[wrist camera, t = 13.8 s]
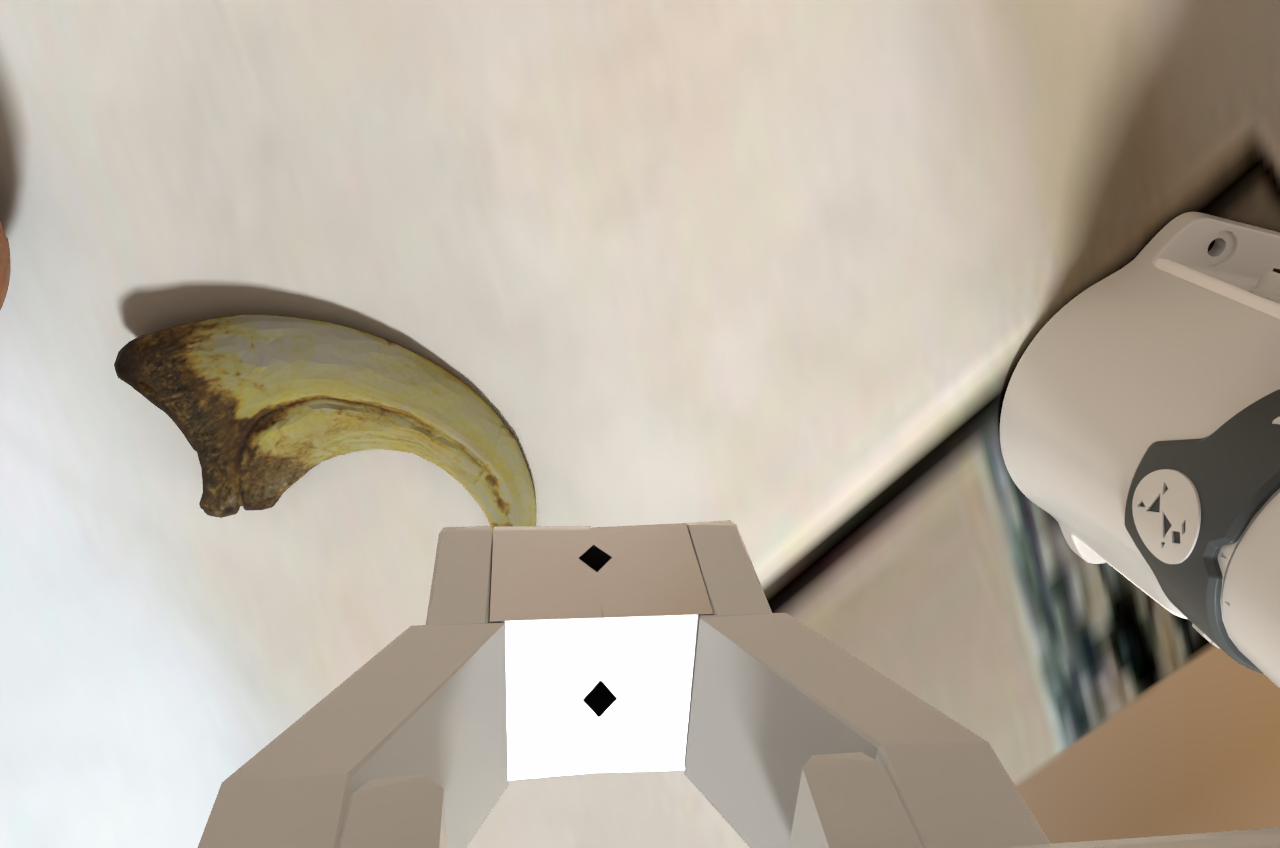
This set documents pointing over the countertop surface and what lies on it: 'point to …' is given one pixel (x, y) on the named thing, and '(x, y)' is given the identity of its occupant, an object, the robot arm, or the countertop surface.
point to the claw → (318, 409)
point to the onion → (4, 265)
